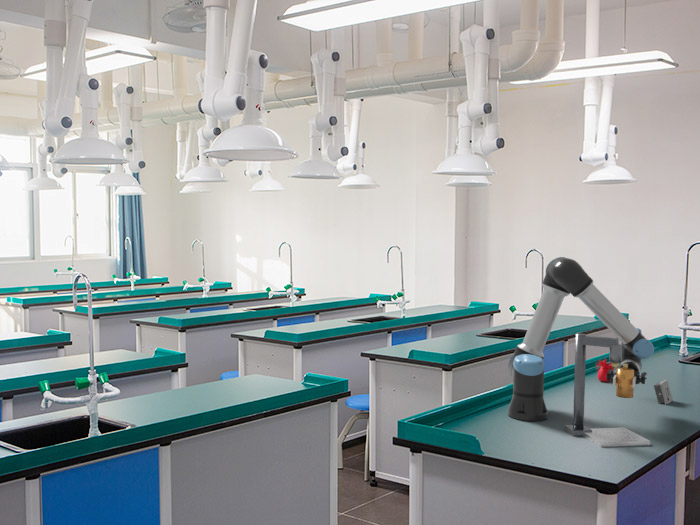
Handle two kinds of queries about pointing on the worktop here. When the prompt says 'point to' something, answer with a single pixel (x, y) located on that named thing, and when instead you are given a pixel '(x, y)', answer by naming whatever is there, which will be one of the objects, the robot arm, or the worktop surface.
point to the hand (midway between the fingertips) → (623, 382)
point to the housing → (624, 382)
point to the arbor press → (598, 435)
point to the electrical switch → (663, 392)
